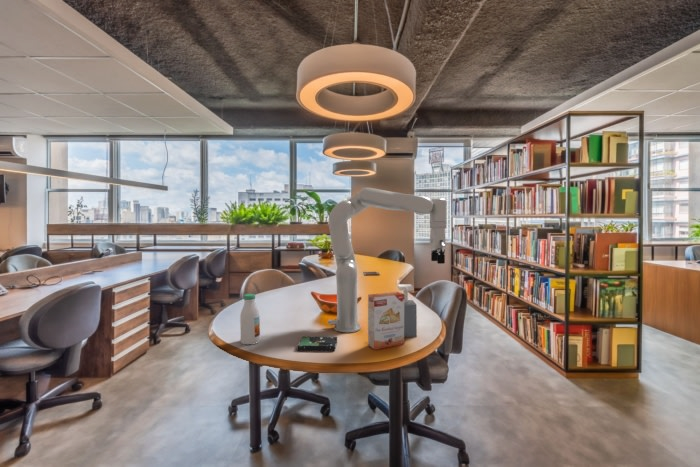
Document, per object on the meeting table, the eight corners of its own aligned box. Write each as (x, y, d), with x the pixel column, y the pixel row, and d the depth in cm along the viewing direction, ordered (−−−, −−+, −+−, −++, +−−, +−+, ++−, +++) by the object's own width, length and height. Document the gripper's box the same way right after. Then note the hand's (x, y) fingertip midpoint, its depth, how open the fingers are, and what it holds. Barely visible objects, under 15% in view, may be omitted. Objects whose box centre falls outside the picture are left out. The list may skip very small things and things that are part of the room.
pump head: (401, 317, 134) (400, 288, 134) (397, 311, 143) (397, 284, 143) (415, 317, 134) (415, 288, 134) (410, 311, 143) (410, 284, 143)
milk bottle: (249, 346, 127) (248, 297, 127) (236, 343, 131) (235, 295, 131) (263, 340, 134) (262, 293, 133) (251, 337, 138) (250, 292, 137)
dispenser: (398, 336, 136) (398, 304, 136) (395, 330, 144) (395, 300, 144) (416, 336, 136) (416, 304, 136) (412, 330, 144) (412, 300, 144)
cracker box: (374, 350, 122) (374, 297, 121) (367, 345, 127) (367, 294, 127) (405, 344, 127) (404, 293, 127) (397, 339, 133) (396, 290, 132)
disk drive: (337, 343, 132) (302, 342, 132) (337, 336, 132) (302, 335, 132) (335, 353, 121) (296, 352, 122) (335, 346, 121) (297, 345, 122)
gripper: (425, 225, 155) (424, 260, 155) (435, 225, 137) (435, 264, 138) (440, 225, 155) (440, 260, 155) (452, 225, 137) (452, 264, 138)
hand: (437, 262), depth 146 cm, fingers open, 9 cm apart
